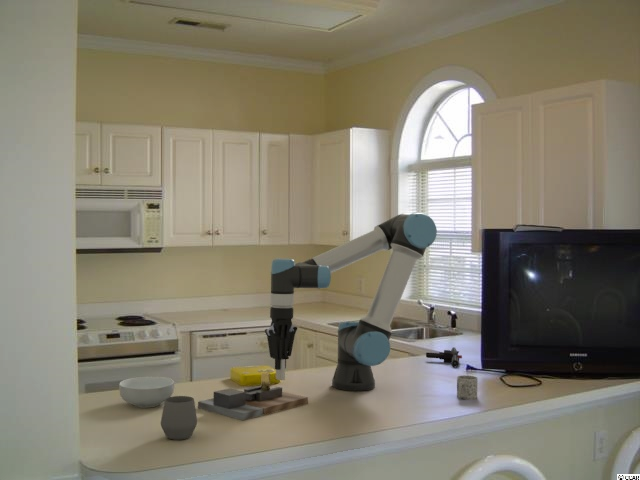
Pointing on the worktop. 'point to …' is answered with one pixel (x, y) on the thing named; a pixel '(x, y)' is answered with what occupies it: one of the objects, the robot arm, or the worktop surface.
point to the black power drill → (447, 356)
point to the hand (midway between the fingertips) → (280, 379)
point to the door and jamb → (256, 406)
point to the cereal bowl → (146, 390)
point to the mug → (467, 387)
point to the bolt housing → (243, 396)
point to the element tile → (252, 375)
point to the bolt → (264, 386)
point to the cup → (179, 417)
